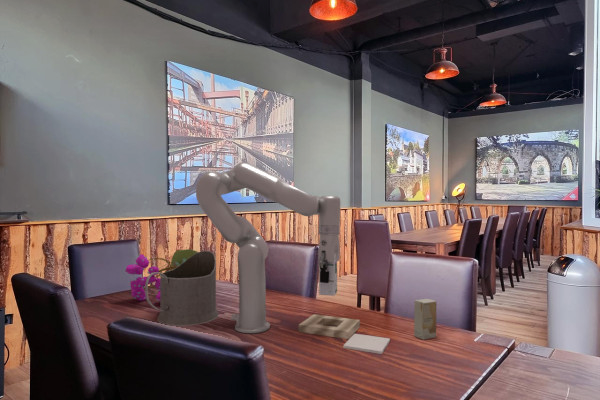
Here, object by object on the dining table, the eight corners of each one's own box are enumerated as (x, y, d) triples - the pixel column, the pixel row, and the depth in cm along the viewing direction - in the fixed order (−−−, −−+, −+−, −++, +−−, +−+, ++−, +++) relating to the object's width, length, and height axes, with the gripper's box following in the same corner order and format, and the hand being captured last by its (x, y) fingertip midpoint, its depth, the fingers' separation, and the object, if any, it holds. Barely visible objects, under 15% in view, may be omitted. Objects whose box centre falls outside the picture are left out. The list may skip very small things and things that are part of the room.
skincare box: (423, 340, 129) (423, 303, 129) (413, 336, 133) (413, 300, 133) (437, 337, 132) (437, 300, 132) (427, 333, 136) (427, 297, 136)
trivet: (343, 347, 123) (343, 345, 123) (354, 335, 134) (354, 333, 134) (381, 354, 118) (381, 351, 118) (390, 341, 129) (390, 338, 129)
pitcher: (230, 313, 161) (230, 252, 161) (168, 336, 134) (168, 263, 134) (189, 306, 173) (189, 248, 173) (125, 326, 145) (125, 258, 145)
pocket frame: (298, 331, 138) (298, 324, 138) (314, 320, 151) (314, 314, 151) (348, 339, 131) (348, 331, 131) (359, 326, 143) (359, 320, 143)
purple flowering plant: (207, 232, 194) (150, 251, 163) (224, 288, 194) (171, 317, 163) (166, 245, 209) (107, 264, 178) (182, 296, 209) (126, 324, 178)
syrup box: (335, 296, 137) (335, 254, 137) (318, 294, 138) (319, 253, 139) (337, 292, 143) (337, 252, 143) (321, 291, 144) (321, 251, 144)
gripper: (330, 232, 131) (329, 286, 131) (346, 229, 147) (345, 277, 147) (309, 231, 134) (308, 284, 134) (327, 228, 150) (326, 275, 150)
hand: (327, 280), depth 141 cm, fingers closed on syrup box, 6 cm apart
